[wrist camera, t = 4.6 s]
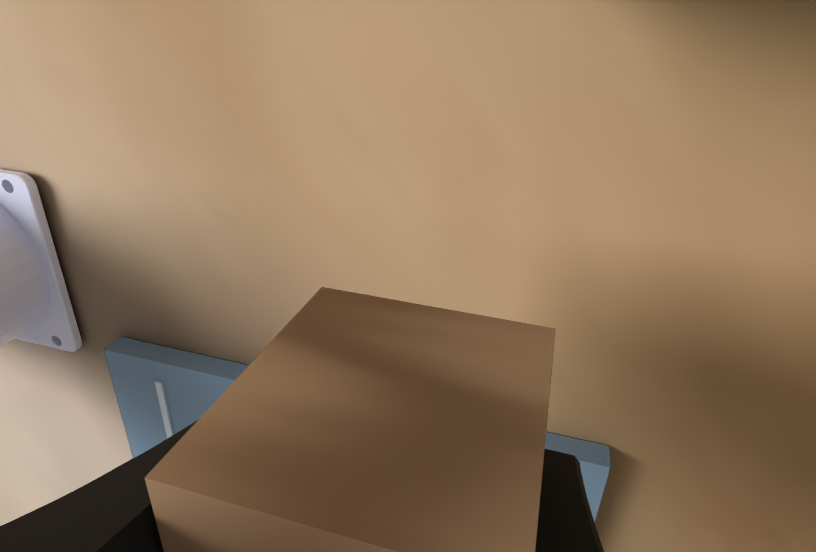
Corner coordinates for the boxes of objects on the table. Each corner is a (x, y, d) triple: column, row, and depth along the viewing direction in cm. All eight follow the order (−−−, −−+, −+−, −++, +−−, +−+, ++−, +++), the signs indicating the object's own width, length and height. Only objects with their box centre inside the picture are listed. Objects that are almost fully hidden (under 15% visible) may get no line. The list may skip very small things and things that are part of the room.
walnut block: (329, 454, 13) (198, 684, 8) (322, 287, 11) (144, 477, 6) (521, 504, 12) (484, 795, 7) (556, 328, 10) (531, 590, 5)
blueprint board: (185, 595, 31) (172, 615, 30) (121, 336, 23) (99, 352, 22) (534, 716, 27) (532, 745, 26) (609, 446, 18) (610, 472, 17)
